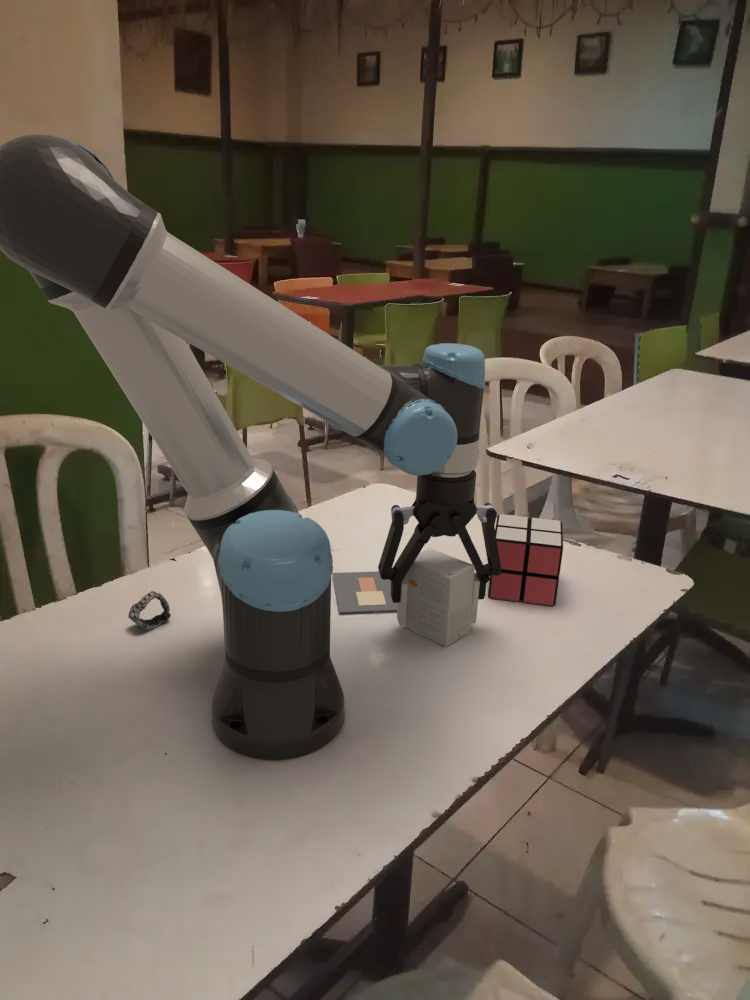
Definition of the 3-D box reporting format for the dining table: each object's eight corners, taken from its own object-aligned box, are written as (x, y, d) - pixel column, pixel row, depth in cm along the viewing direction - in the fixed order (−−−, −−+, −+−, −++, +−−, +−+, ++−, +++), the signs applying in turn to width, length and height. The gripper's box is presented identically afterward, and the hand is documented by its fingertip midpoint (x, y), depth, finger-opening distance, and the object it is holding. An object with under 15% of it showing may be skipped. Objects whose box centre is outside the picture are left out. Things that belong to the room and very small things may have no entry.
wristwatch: (148, 628, 109) (123, 614, 106) (173, 601, 110) (149, 585, 106) (156, 640, 107) (131, 626, 104) (182, 612, 108) (158, 596, 104)
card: (339, 614, 112) (339, 611, 112) (332, 575, 123) (332, 572, 123) (408, 611, 113) (408, 608, 113) (395, 573, 124) (395, 570, 124)
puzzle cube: (555, 607, 116) (563, 547, 112) (487, 599, 118) (493, 539, 114) (554, 577, 125) (562, 519, 121) (491, 569, 127) (497, 512, 123)
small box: (470, 633, 109) (476, 565, 105) (445, 648, 105) (451, 578, 101) (426, 611, 114) (430, 546, 110) (400, 625, 110) (404, 558, 106)
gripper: (520, 456, 105) (504, 603, 113) (358, 458, 102) (354, 609, 110) (539, 476, 98) (520, 630, 107) (365, 479, 95) (360, 638, 104)
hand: (436, 619), depth 109 cm, fingers closed on small box, 9 cm apart
